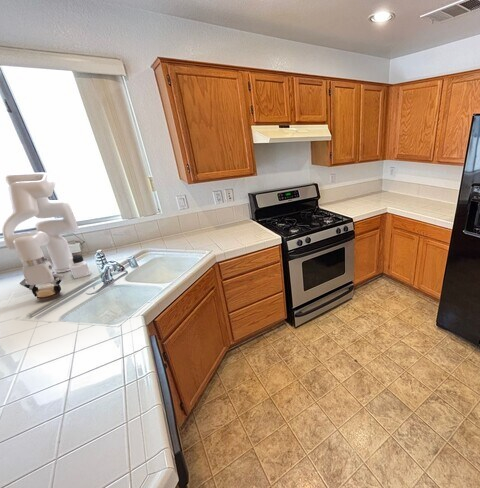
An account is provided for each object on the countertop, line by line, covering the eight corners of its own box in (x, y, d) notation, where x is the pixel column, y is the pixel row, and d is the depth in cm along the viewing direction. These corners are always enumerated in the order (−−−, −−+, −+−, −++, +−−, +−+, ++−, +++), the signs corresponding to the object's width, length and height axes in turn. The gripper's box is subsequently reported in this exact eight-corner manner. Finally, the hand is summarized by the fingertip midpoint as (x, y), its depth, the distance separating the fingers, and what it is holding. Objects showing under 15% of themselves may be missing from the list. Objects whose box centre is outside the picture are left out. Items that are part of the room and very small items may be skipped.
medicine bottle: (88, 271, 160) (81, 253, 156) (90, 274, 156) (84, 256, 152) (72, 275, 155) (65, 256, 151) (75, 279, 151) (67, 259, 146)
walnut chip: (44, 295, 134) (42, 291, 134) (64, 291, 137) (63, 288, 137) (34, 303, 127) (32, 300, 126) (56, 299, 130) (54, 296, 129)
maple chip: (42, 291, 133) (40, 286, 132) (61, 288, 136) (59, 284, 135) (34, 298, 127) (32, 293, 126) (53, 295, 129) (51, 290, 128)
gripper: (61, 256, 131) (73, 286, 138) (15, 261, 125) (30, 293, 132) (53, 261, 125) (66, 293, 131) (4, 267, 119) (20, 301, 125)
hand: (48, 293), depth 131 cm, fingers closed on maple chip, 7 cm apart
